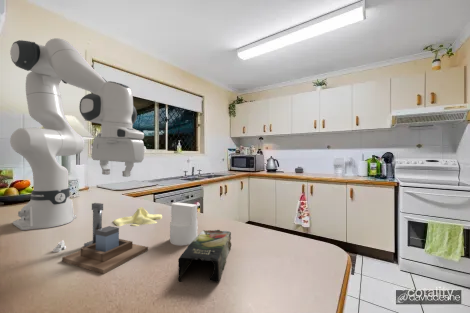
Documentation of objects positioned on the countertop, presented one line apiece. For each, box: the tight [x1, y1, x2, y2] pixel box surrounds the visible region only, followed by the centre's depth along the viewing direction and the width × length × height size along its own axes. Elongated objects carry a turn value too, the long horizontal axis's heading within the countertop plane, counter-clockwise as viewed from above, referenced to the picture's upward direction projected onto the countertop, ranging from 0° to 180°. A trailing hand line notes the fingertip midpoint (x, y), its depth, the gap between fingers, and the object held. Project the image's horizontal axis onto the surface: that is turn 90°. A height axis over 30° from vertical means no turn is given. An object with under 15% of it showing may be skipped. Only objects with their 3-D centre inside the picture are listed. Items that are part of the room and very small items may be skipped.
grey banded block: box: [96, 225, 120, 252], centre depth 61 cm, size 4×4×6 cm
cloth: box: [112, 206, 163, 227], centre depth 94 cm, size 22×19×6 cm
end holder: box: [61, 238, 149, 275], centre depth 61 cm, size 16×14×3 cm
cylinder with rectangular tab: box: [169, 201, 199, 246], centre depth 72 cm, size 9×9×12 cm
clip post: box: [83, 202, 104, 247], centre depth 68 cm, size 5×5×13 cm
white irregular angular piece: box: [52, 239, 67, 253], centre depth 64 cm, size 3×3×3 cm
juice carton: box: [177, 229, 232, 283], centre depth 58 cm, size 20×10×6 cm, turn 173°
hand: (115, 175), depth 70 cm, fingers open, 8 cm apart
